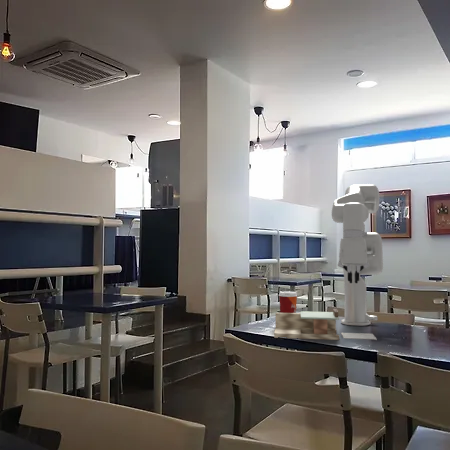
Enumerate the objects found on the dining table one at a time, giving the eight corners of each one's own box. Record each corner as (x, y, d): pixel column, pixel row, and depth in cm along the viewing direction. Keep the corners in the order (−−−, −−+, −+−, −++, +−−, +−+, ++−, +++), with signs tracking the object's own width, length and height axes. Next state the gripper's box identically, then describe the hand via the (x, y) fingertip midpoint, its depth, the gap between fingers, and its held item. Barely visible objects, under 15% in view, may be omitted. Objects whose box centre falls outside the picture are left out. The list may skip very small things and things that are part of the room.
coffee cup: (297, 329, 197) (297, 293, 197) (277, 328, 198) (277, 293, 199) (298, 325, 205) (298, 291, 205) (279, 325, 206) (279, 291, 207)
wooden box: (335, 332, 190) (335, 314, 190) (339, 340, 174) (339, 320, 174) (275, 330, 193) (275, 312, 194) (274, 338, 177) (274, 318, 178)
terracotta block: (326, 334, 183) (326, 316, 183) (327, 337, 178) (327, 319, 178) (313, 334, 184) (313, 316, 184) (314, 337, 179) (314, 318, 179)
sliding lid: (335, 313, 189) (335, 307, 189) (339, 319, 174) (339, 312, 174) (300, 312, 191) (300, 306, 191) (301, 318, 176) (300, 311, 176)
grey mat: (372, 335, 185) (372, 333, 185) (376, 340, 175) (376, 338, 175) (341, 334, 187) (341, 332, 187) (343, 339, 177) (343, 337, 177)
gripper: (372, 235, 183) (372, 282, 183) (331, 235, 185) (331, 281, 185) (375, 234, 176) (376, 284, 175) (333, 234, 178) (333, 283, 177)
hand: (353, 282), depth 180 cm, fingers closed
